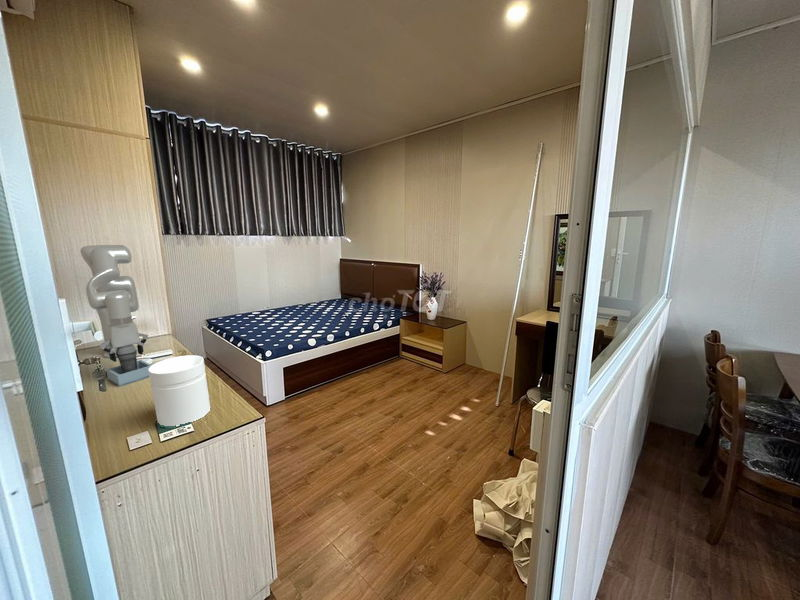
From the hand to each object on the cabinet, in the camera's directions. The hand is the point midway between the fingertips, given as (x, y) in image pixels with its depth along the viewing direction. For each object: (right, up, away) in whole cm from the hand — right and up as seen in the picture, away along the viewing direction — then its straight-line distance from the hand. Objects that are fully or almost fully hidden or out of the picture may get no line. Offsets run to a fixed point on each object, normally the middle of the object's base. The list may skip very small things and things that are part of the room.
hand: (127, 357), depth 144 cm
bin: (0, -10, +2) cm, 10 cm away
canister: (+46, -16, -29) cm, 56 cm away
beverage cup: (0, -9, +2) cm, 9 cm away
